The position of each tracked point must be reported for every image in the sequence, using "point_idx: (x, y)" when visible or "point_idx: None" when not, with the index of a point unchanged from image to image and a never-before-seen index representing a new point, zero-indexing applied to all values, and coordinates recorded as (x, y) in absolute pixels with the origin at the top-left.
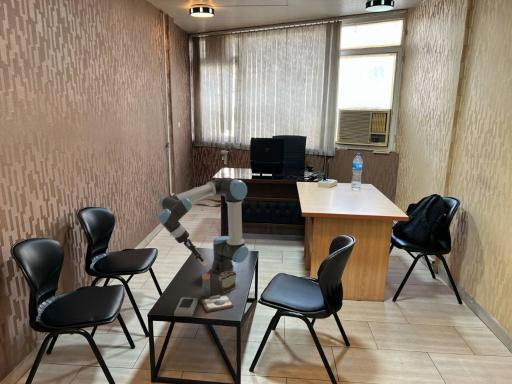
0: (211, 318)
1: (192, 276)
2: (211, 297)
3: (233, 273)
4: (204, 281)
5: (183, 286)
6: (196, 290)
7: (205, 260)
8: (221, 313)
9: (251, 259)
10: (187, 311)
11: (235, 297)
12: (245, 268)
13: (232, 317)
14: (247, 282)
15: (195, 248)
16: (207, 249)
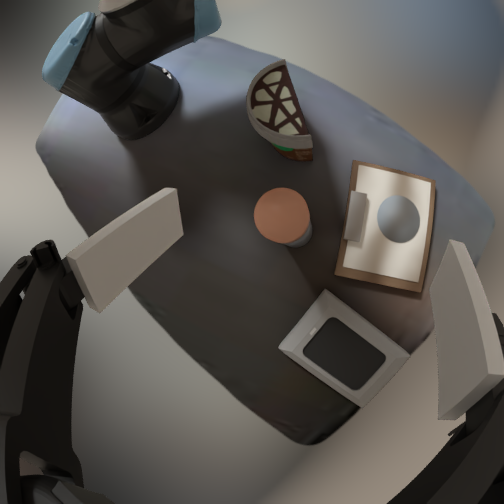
0: None
1: None
2: (354, 232)
3: (278, 70)
4: (300, 238)
5: (171, 281)
6: (229, 250)
7: (478, 279)
8: None
9: None
10: (396, 369)
11: (371, 137)
12: None
13: (482, 224)
14: (281, 59)
15: (78, 264)
16: (45, 126)
